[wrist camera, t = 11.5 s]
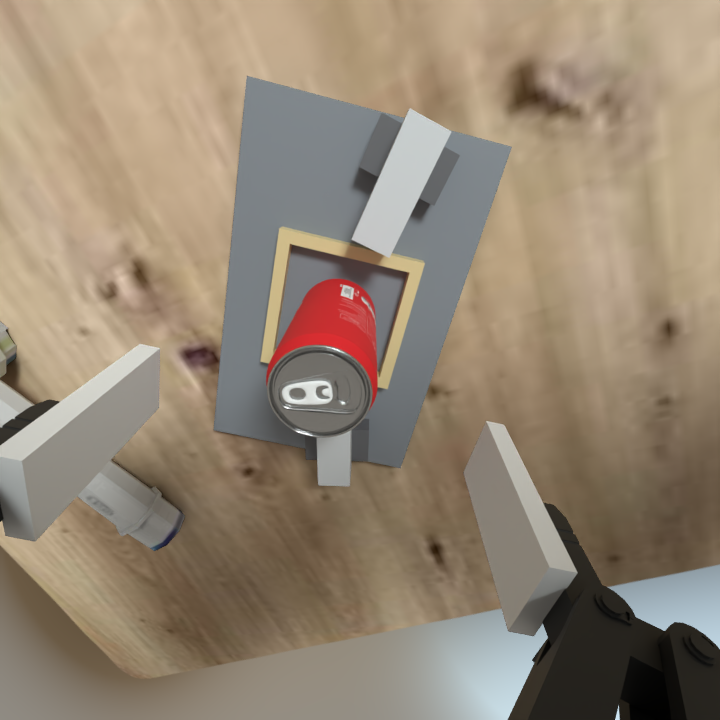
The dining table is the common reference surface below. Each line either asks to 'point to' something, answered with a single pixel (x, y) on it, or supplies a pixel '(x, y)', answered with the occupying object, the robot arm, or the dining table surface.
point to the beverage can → (326, 362)
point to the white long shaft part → (106, 479)
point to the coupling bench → (348, 254)
